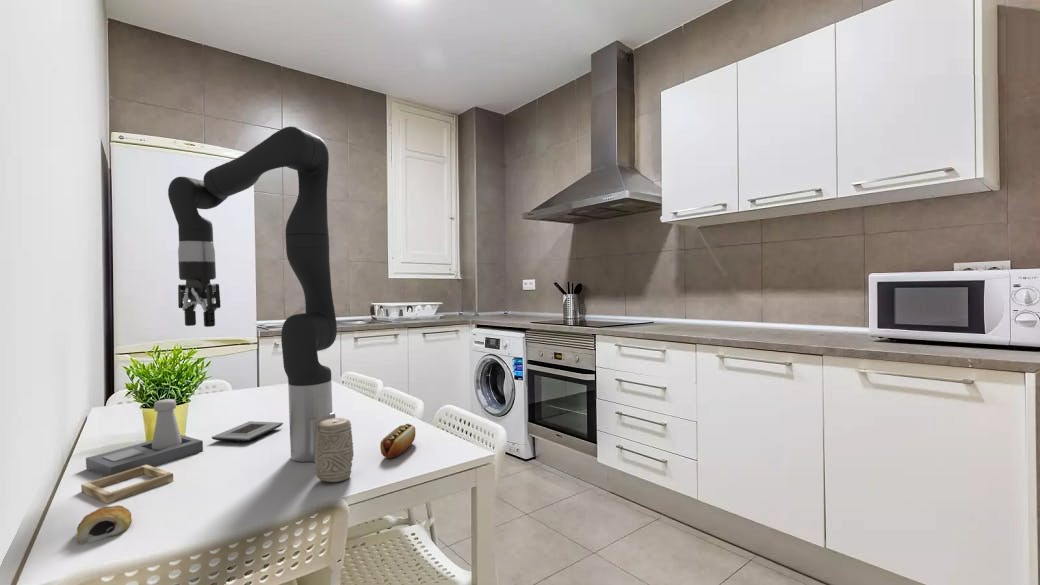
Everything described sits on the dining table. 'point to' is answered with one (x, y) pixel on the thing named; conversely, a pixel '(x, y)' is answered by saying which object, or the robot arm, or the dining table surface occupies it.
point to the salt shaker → (165, 426)
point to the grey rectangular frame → (140, 456)
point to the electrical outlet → (247, 431)
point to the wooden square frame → (107, 497)
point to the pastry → (103, 523)
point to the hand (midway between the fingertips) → (199, 326)
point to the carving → (333, 450)
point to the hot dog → (397, 441)
